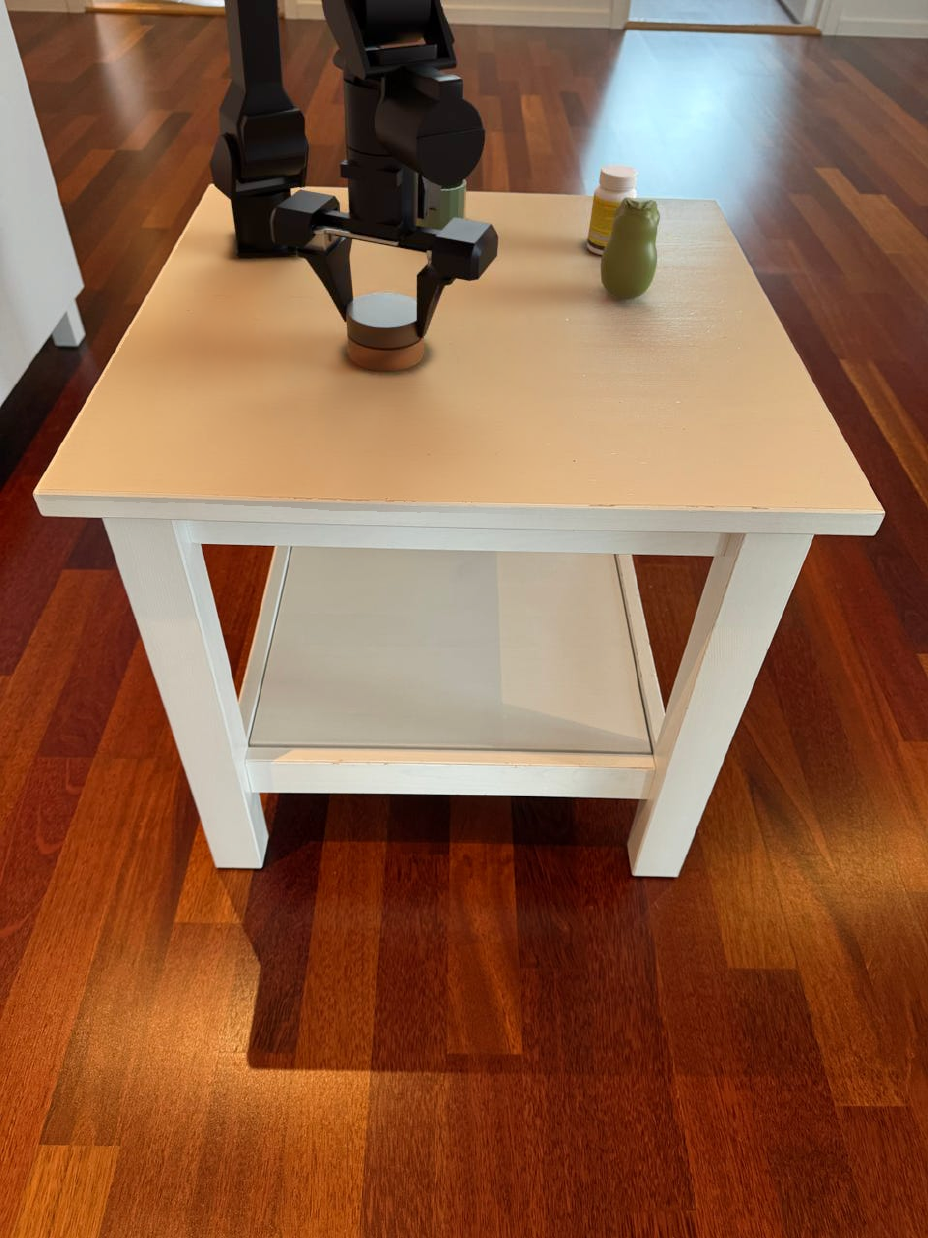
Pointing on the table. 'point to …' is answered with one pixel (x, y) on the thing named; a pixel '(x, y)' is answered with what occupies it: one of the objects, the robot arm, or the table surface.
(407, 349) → the teak chip
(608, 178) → the supplement bottle
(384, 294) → the walnut chip
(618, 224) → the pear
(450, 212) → the plastic cup
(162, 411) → the table surface
